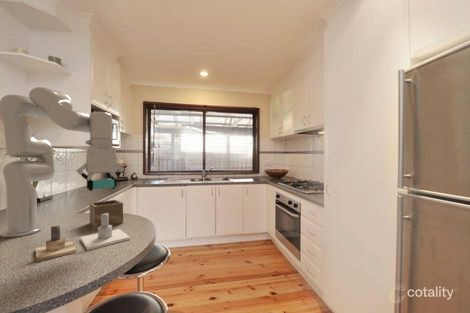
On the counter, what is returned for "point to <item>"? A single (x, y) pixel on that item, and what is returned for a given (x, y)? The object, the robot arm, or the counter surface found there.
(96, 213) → the tool caddy
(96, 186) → the teal square frame
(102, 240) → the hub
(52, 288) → the counter surface
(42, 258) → the stand
